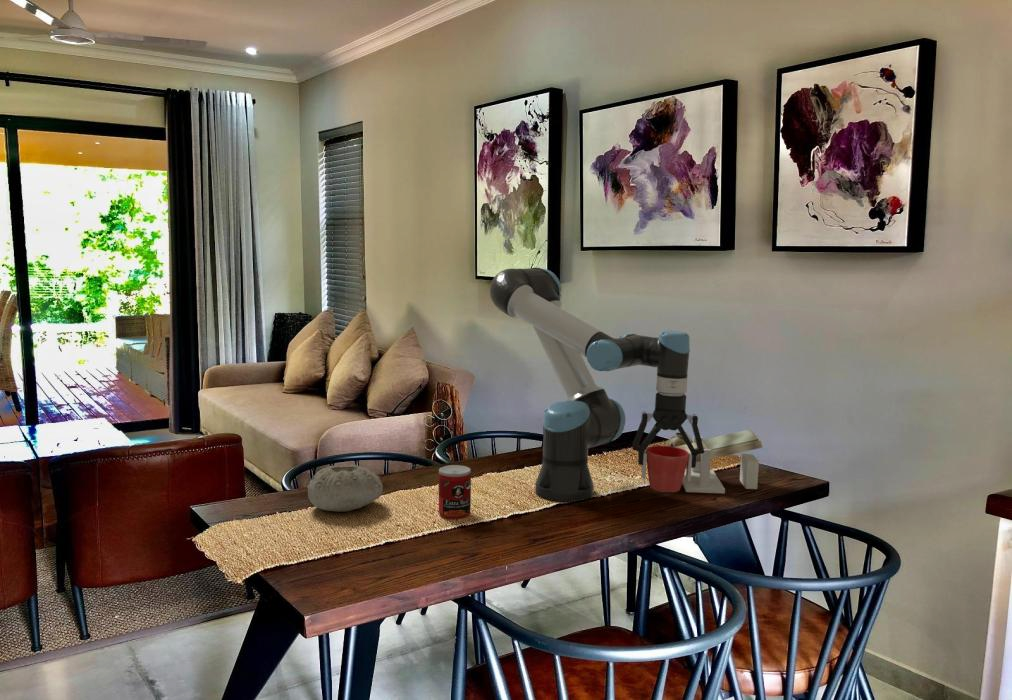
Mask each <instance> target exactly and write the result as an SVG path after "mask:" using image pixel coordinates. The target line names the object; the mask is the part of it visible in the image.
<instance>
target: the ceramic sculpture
mask: <svg viewBox="0 0 1012 700" xmlns="http://www.w3.org/2000/svg"><path fill="white" fill-rule="evenodd" d="M685 433H686V435H687V436H688V438H689V440H690V442H691V443H693V438H691V436H690V435H689V434H688V433H687V431H685ZM681 445H686V443H685V441H684V439H683V437H682V436H681V434H680V432H676V433H675V434H673V436H671V437H669V439H668V440H667V441H666V443H665V445H664V446H671V447H677V446H681Z"/></svg>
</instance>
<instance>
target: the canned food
mask: <svg viewBox="0 0 1012 700" xmlns="http://www.w3.org/2000/svg"><path fill="white" fill-rule="evenodd" d="M471 491H472V470H471V468H470V467H468V466H466V465H460V464H451V465H444V466H442V467H440V468H439V470H438V514H439V516H440V517H441V518H444V519H446V520H447V519H448V520H461V519H464V518H467V517H469V516H470V514H471V510H472V509H471V506H472V505H471V501H472V499H471V496H472V495H471V494H472V493H471Z"/></svg>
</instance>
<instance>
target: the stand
mask: <svg viewBox="0 0 1012 700" xmlns="http://www.w3.org/2000/svg"><path fill="white" fill-rule="evenodd" d="M700 437H701V441H703V440H704V438H703V436H700ZM692 441H693V443H695V442H696V440H695V436H692ZM711 461H712V459H711V449H704V453H703V454H701V461H699V462H696V466H695V468H691V480H690V481H687V479H686V470H685V474H684V477H683V481H682V486H683V488H684V491H685V493H701V494H702V493H705V494H725V493H726V488H725V487H724V485H723V483H722V482H721V481H720V478H719V477H718V476H717V474H716V473H715V471H714V469H711ZM759 463H760V461H759V460H758V458H757V457H756V456H755V455H754V454H753V453H751V452H750V453H746V452H740V467H739V469H740V470H739V471H740V472H739V481H740V483H741V484H742V486H743V487H744V488H745V489H746V490H747V489H748V490H758V483H759V466H760V465H759Z"/></svg>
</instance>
